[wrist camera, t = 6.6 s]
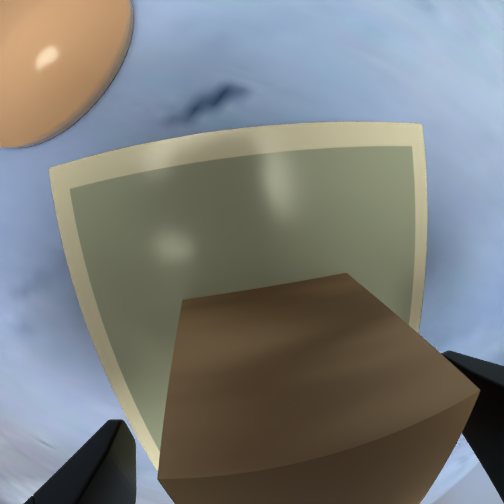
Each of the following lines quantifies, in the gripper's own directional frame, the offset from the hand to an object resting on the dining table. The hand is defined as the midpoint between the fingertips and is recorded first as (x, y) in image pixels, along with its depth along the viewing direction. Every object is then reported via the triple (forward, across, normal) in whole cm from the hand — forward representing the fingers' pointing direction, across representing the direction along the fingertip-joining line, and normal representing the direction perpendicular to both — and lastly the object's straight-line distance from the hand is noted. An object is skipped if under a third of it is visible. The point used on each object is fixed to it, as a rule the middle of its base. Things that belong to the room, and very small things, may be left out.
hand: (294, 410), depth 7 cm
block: (+3, 0, 0) cm, 3 cm away
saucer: (+6, +8, -13) cm, 16 cm away
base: (+6, 0, 0) cm, 6 cm away
